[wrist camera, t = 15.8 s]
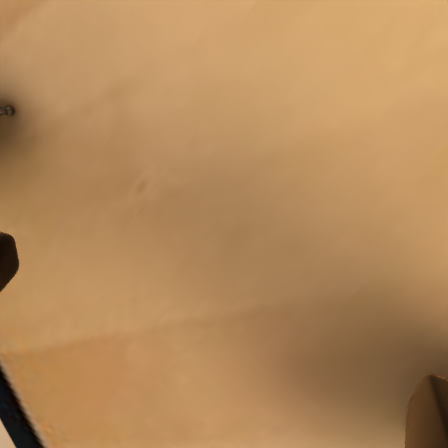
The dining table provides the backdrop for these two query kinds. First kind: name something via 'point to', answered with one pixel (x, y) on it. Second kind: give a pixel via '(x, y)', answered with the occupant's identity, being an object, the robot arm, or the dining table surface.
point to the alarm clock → (7, 110)
